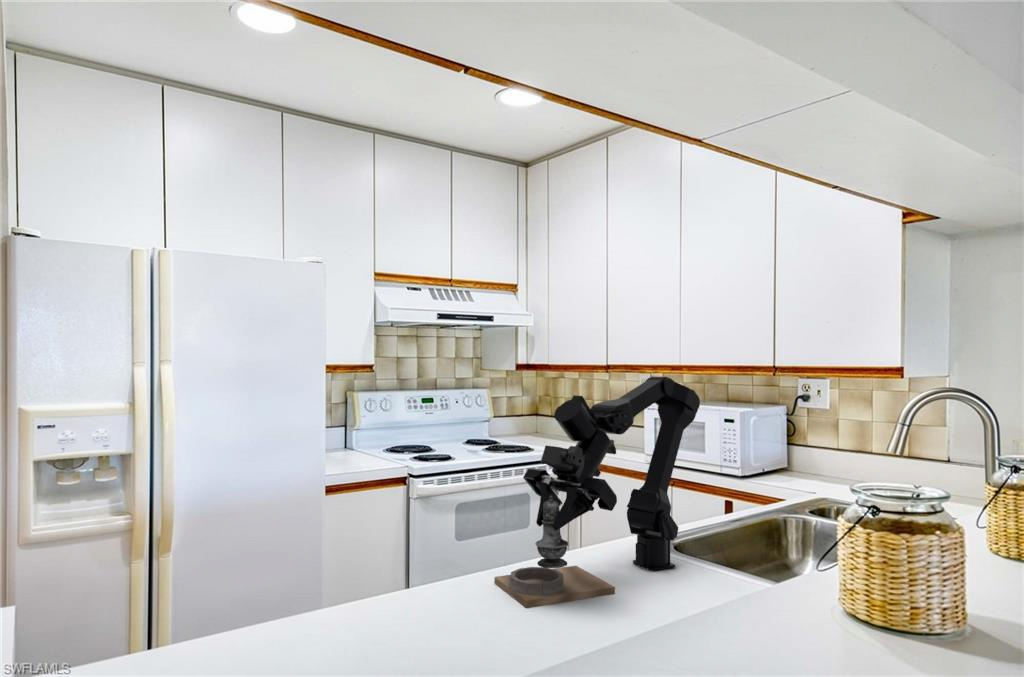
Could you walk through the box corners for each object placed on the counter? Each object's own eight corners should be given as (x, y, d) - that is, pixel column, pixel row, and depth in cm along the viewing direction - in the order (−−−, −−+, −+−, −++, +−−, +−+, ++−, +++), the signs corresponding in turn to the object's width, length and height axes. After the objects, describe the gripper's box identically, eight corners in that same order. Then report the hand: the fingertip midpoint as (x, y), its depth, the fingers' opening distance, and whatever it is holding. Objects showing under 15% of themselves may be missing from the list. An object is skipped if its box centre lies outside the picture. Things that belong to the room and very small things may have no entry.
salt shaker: (532, 560, 115) (531, 492, 116) (563, 557, 116) (562, 491, 117) (540, 569, 109) (539, 499, 110) (573, 567, 110) (571, 497, 111)
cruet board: (576, 571, 129) (576, 555, 129) (614, 593, 116) (614, 575, 117) (494, 583, 122) (494, 566, 122) (526, 607, 109) (526, 588, 109)
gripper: (529, 425, 123) (486, 491, 115) (606, 432, 110) (563, 507, 102) (558, 462, 128) (518, 527, 120) (634, 473, 115) (595, 547, 107)
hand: (546, 526), depth 112 cm, fingers closed on salt shaker, 4 cm apart
